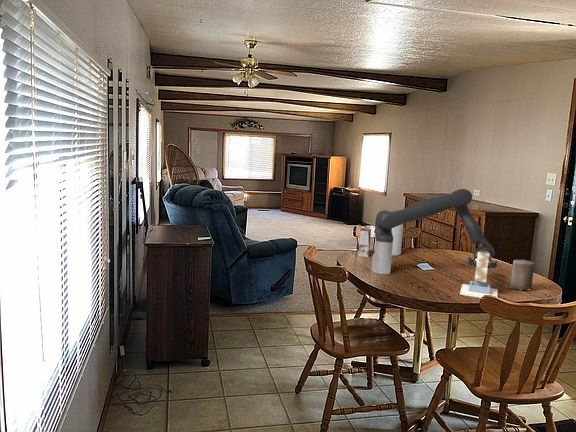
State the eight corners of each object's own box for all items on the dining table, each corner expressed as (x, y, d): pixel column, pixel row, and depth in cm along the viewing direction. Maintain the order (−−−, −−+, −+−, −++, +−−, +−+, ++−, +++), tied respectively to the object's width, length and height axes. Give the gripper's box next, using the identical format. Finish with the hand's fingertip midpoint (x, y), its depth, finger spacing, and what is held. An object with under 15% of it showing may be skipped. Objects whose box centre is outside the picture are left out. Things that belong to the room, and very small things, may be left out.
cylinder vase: (396, 251, 312) (399, 213, 309) (403, 256, 300) (407, 216, 297) (377, 251, 310) (381, 213, 306) (384, 255, 298) (388, 216, 294)
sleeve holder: (460, 294, 223) (460, 285, 223) (462, 286, 238) (463, 277, 237) (497, 300, 217) (498, 291, 217) (497, 291, 232) (498, 283, 231)
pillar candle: (535, 291, 236) (539, 261, 234) (516, 290, 235) (520, 261, 233) (524, 286, 245) (527, 257, 243) (506, 285, 244) (509, 256, 243)
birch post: (474, 280, 225) (477, 253, 224) (474, 278, 230) (477, 251, 228) (485, 282, 224) (489, 255, 222) (486, 279, 228) (489, 253, 226)
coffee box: (368, 257, 291) (370, 231, 289) (358, 256, 292) (360, 230, 290) (369, 254, 300) (371, 229, 298) (358, 253, 301) (360, 228, 299)
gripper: (468, 249, 241) (466, 256, 225) (499, 253, 235) (499, 260, 220) (466, 264, 242) (464, 271, 226) (497, 268, 236) (497, 276, 221)
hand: (482, 266), depth 223 cm, fingers closed on birch post, 5 cm apart
